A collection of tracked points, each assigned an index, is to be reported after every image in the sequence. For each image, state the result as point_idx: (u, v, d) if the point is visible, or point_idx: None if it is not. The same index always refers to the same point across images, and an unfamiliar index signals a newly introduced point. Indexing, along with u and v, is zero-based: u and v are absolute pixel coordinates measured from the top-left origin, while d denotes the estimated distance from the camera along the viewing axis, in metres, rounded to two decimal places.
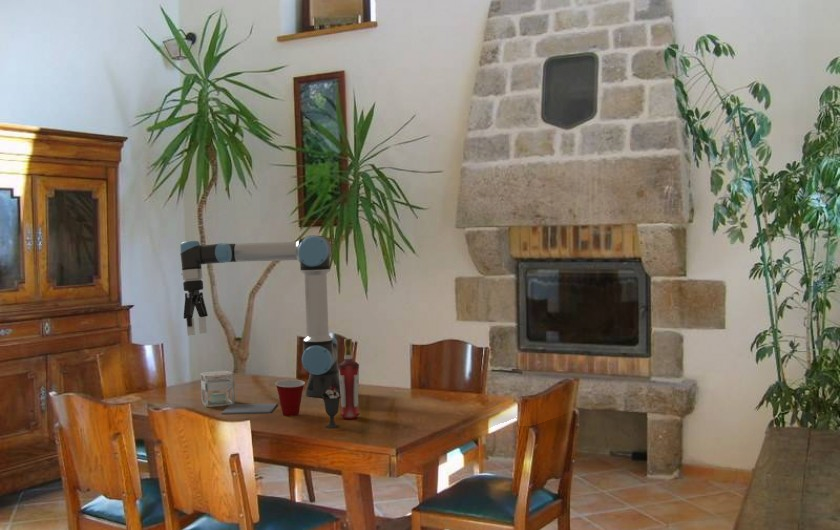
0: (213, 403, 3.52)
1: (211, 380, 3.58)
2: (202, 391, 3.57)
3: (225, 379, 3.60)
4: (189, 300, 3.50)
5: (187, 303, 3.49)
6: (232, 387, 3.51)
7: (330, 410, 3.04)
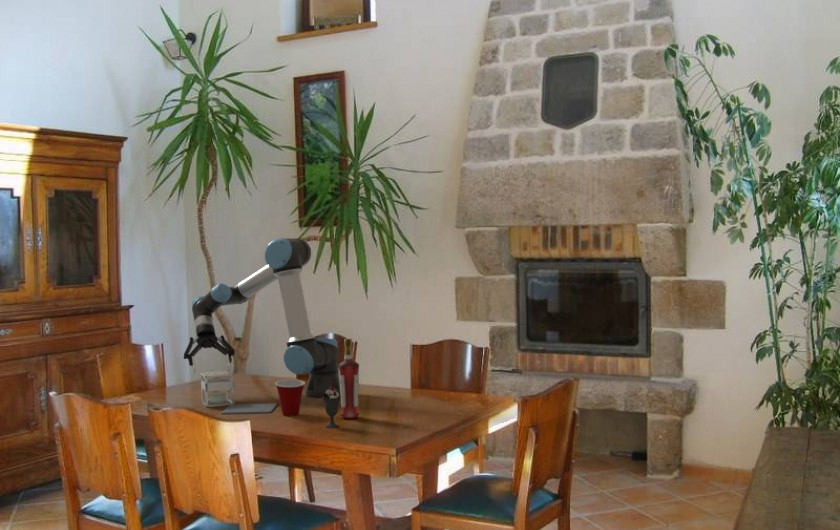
0: (213, 403, 3.52)
1: (211, 380, 3.58)
2: (202, 391, 3.57)
3: (225, 379, 3.60)
4: (189, 343, 3.67)
5: (187, 347, 3.66)
6: (232, 387, 3.51)
7: (330, 410, 3.04)
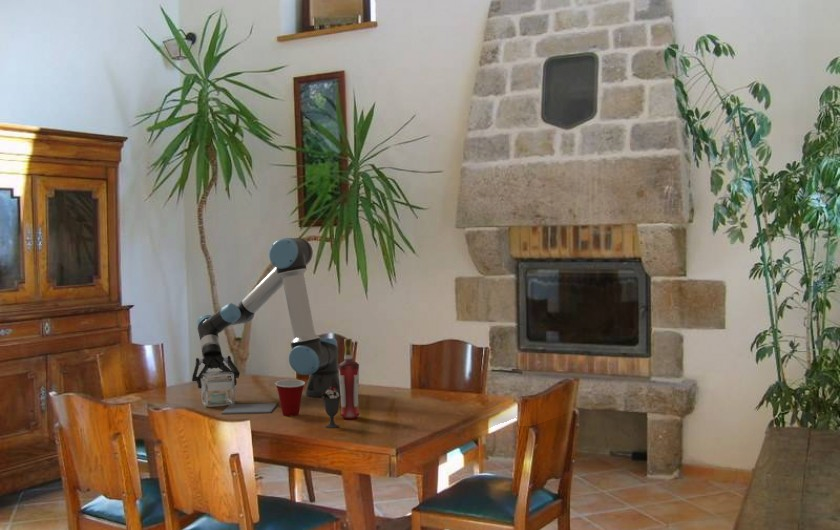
0: (213, 403, 3.52)
1: (211, 380, 3.58)
2: None
3: (225, 379, 3.60)
4: None
5: None
6: (232, 387, 3.51)
7: (330, 410, 3.04)
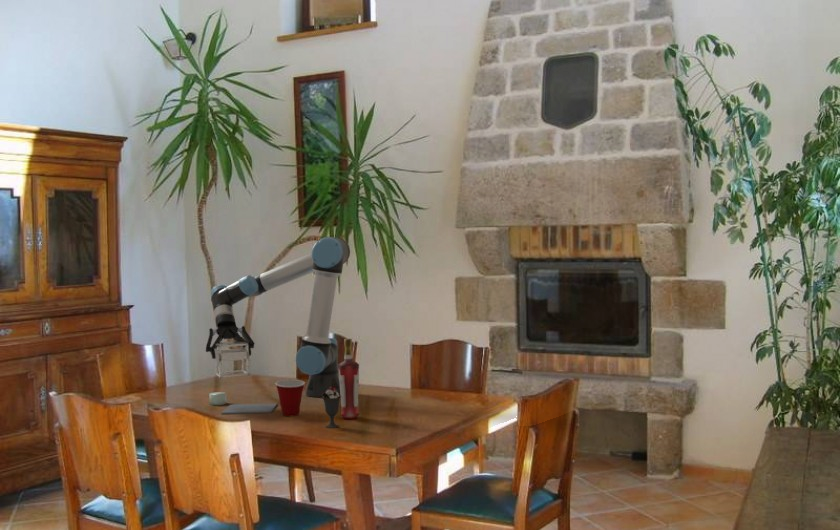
0: (213, 403, 3.52)
1: (225, 351, 3.49)
2: None
3: (239, 350, 3.51)
4: (209, 335, 3.49)
5: None
6: (246, 357, 3.42)
7: (330, 410, 3.04)
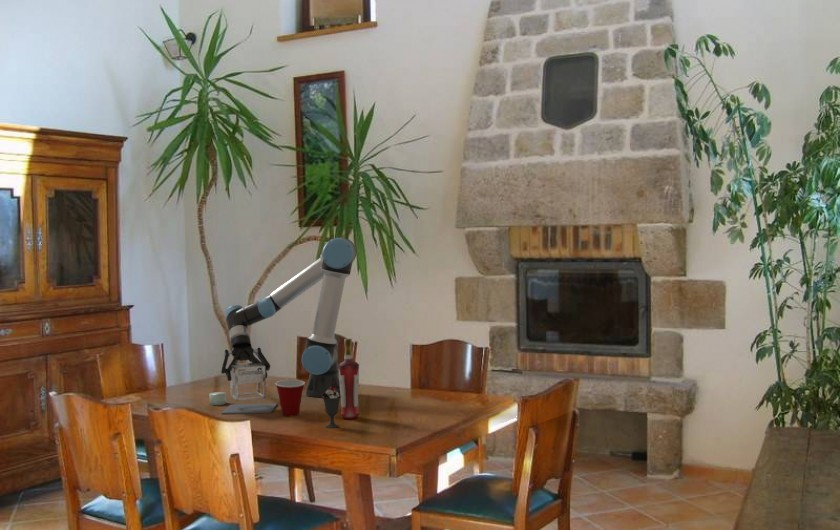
0: (213, 403, 3.52)
1: (241, 372, 3.44)
2: None
3: (255, 371, 3.46)
4: (225, 357, 3.43)
5: (224, 360, 3.43)
6: (263, 380, 3.37)
7: (330, 410, 3.04)
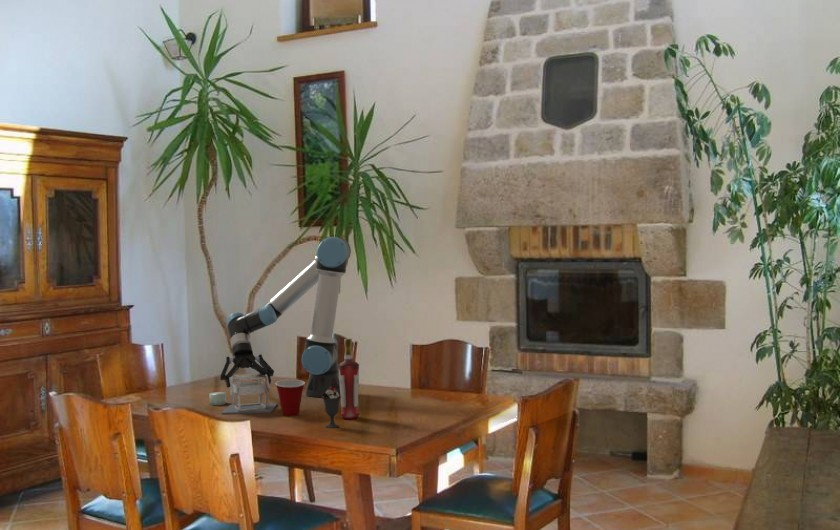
0: (213, 403, 3.52)
1: (242, 383, 3.44)
2: (233, 395, 3.43)
3: (257, 382, 3.47)
4: (225, 364, 3.44)
5: (224, 367, 3.43)
6: (265, 391, 3.37)
7: (330, 410, 3.04)
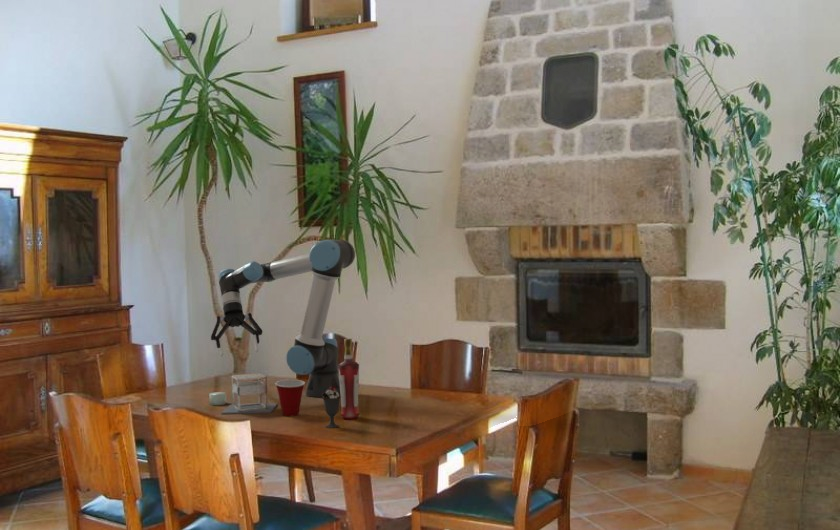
0: (213, 403, 3.52)
1: (242, 383, 3.44)
2: (233, 395, 3.43)
3: (257, 382, 3.47)
4: (216, 323, 3.61)
5: (215, 327, 3.60)
6: (265, 391, 3.37)
7: (330, 410, 3.04)
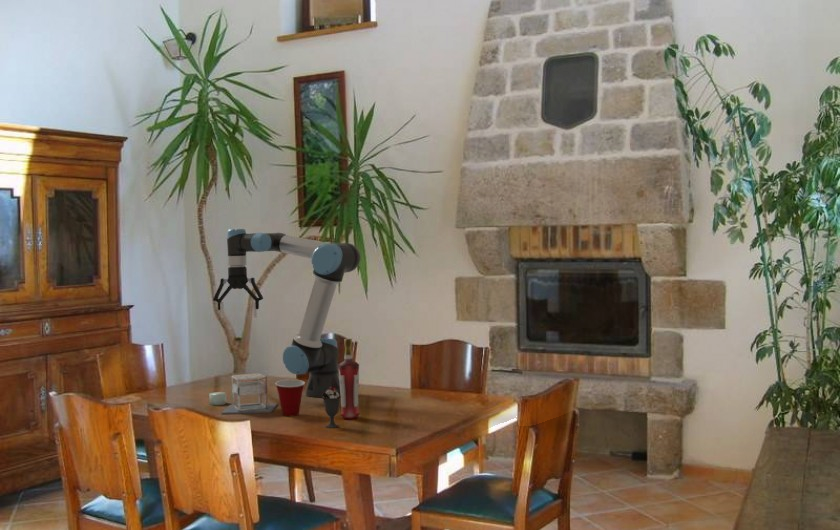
0: (213, 403, 3.52)
1: (242, 383, 3.44)
2: (233, 395, 3.43)
3: (257, 382, 3.47)
4: None
5: None
6: (265, 391, 3.37)
7: (330, 410, 3.04)
